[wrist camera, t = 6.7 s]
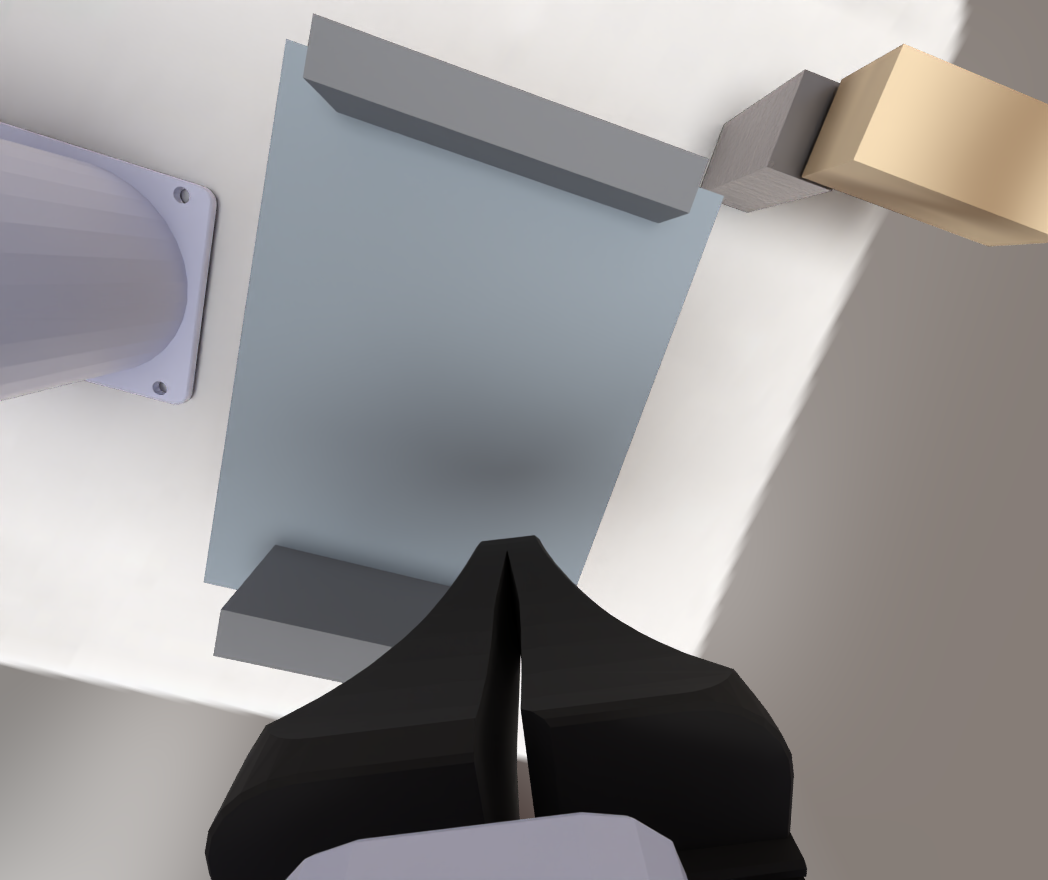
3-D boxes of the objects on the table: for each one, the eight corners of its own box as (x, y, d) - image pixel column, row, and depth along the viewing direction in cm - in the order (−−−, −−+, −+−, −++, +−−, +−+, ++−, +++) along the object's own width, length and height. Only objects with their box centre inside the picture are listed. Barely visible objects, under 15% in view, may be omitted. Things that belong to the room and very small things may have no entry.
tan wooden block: (801, 176, 14) (853, 160, 12) (841, 79, 14) (903, 43, 12) (988, 246, 15) (1066, 241, 13) (1034, 157, 14) (1125, 136, 12)
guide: (698, 194, 19) (766, 166, 14) (723, 124, 19) (804, 69, 14) (747, 212, 20) (831, 191, 15) (774, 143, 19) (872, 96, 14)
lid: (216, 569, 18) (133, 654, 14) (298, 51, 14) (214, -42, 10) (546, 645, 20) (558, 742, 16) (713, 200, 15) (790, 172, 11)
